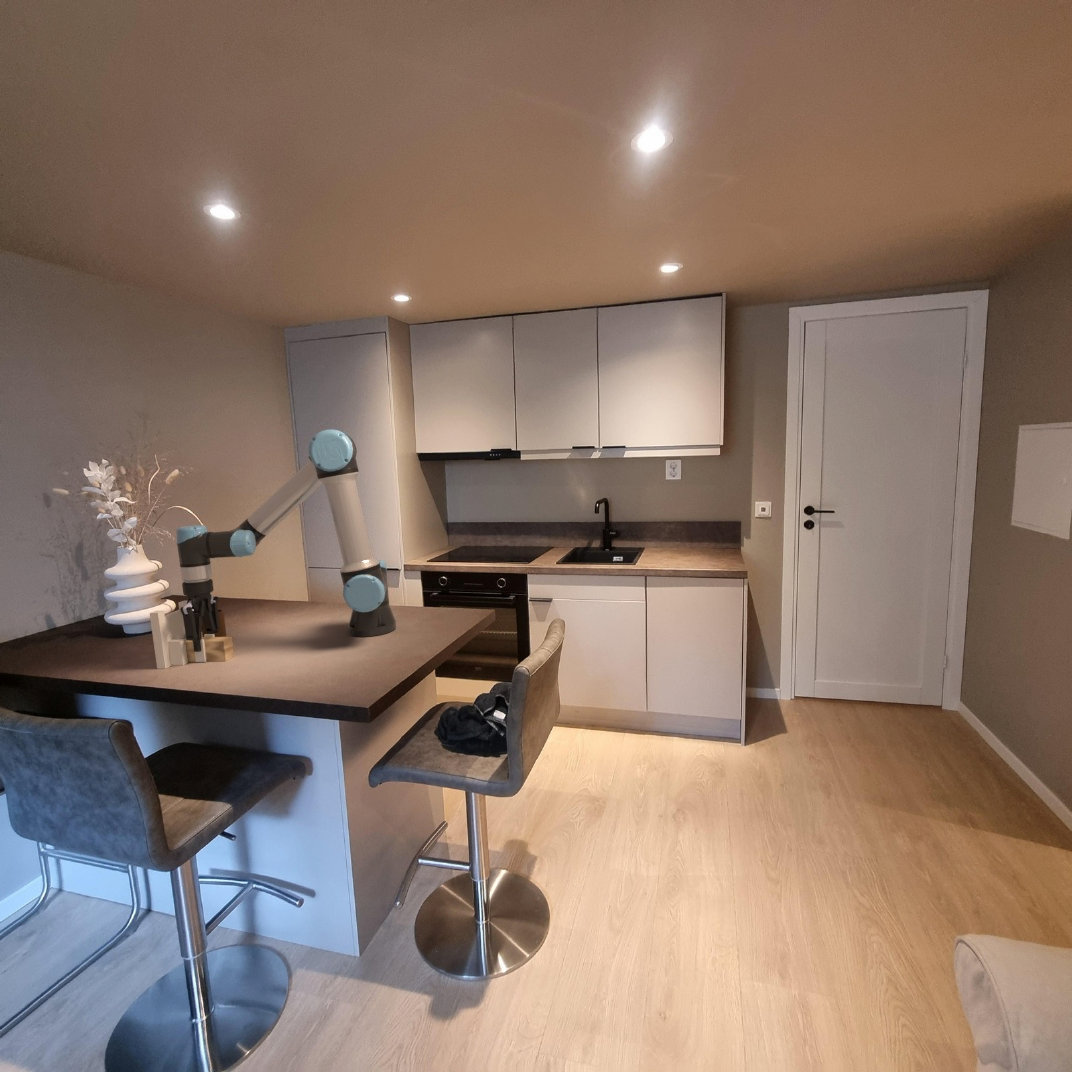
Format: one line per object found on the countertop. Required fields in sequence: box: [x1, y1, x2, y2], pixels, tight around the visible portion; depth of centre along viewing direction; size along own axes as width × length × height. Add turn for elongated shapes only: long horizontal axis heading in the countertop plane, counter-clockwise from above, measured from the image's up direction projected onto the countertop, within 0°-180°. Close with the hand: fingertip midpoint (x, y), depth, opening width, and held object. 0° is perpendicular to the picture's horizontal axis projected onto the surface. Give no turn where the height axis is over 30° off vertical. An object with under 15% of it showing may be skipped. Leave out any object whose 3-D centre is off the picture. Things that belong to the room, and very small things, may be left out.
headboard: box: [149, 600, 203, 670], centre depth 164 cm, size 6×14×16 cm, turn 177°
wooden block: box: [181, 636, 235, 663], centre depth 164 cm, size 14×4×6 cm, turn 87°
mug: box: [202, 608, 227, 637], centre depth 180 cm, size 12×8×9 cm, turn 159°
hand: (206, 658), depth 164 cm, fingers closed on wooden block, 4 cm apart
